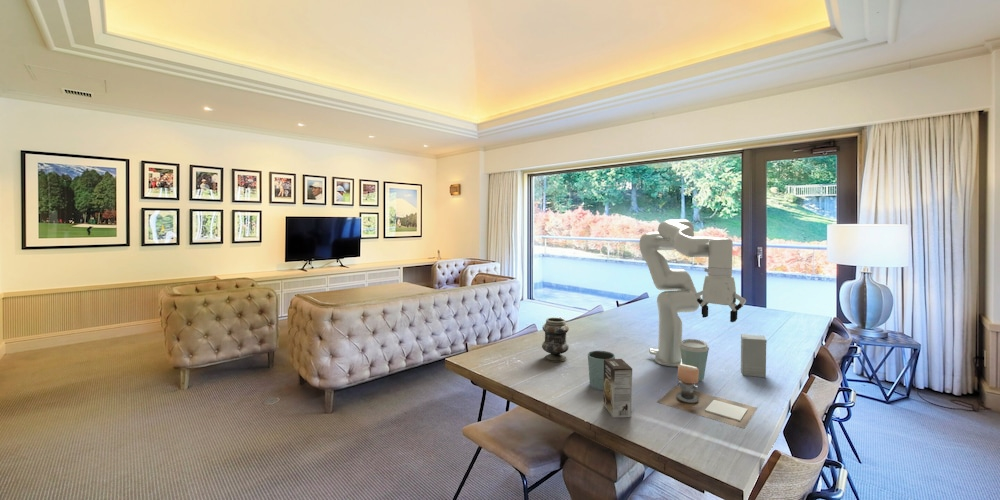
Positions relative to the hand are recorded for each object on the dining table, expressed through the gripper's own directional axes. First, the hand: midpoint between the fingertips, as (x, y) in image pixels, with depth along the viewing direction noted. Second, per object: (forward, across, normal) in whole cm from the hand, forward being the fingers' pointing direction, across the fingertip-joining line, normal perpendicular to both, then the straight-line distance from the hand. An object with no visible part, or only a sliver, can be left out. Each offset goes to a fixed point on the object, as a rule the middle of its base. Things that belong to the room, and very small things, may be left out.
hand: (718, 319), depth 146 cm
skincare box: (+26, +2, +28) cm, 38 cm away
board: (+27, +4, -17) cm, 32 cm away
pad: (+26, +10, -16) cm, 32 cm away
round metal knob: (+26, -2, -18) cm, 31 cm away
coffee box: (+27, -14, -42) cm, 51 cm away
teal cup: (+26, -30, -29) cm, 49 cm away
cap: (+19, -2, -18) cm, 26 cm away
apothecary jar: (+26, -62, -21) cm, 70 cm away
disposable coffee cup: (+26, -11, +3) cm, 29 cm away
